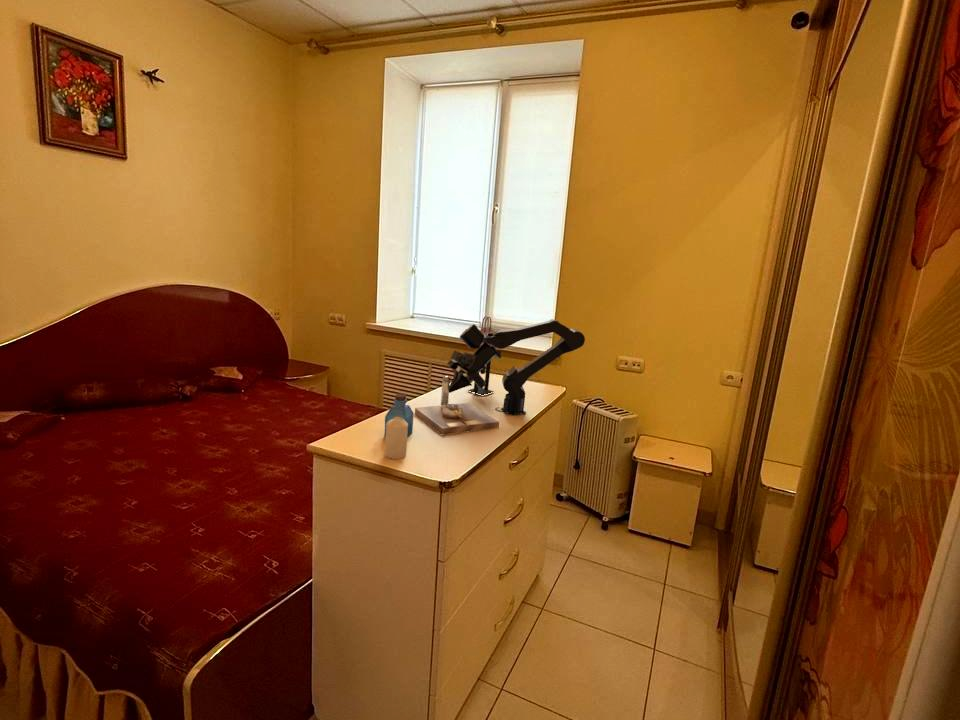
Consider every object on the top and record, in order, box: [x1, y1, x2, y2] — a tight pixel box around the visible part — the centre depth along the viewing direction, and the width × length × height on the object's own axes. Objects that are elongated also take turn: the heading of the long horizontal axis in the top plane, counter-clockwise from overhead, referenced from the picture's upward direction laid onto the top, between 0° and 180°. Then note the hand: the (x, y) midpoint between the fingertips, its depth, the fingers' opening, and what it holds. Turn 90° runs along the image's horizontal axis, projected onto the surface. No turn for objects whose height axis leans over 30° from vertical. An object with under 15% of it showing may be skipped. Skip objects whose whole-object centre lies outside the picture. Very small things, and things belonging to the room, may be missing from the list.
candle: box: [384, 417, 408, 460], centre depth 128 cm, size 6×6×10 cm
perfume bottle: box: [383, 393, 415, 439], centre depth 141 cm, size 6×6×12 cm
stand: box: [414, 402, 500, 436], centre depth 159 cm, size 20×20×2 cm
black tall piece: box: [467, 315, 498, 395], centre depth 190 cm, size 10×8×30 cm
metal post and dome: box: [440, 375, 463, 418], centre depth 157 cm, size 6×18×10 cm, turn 21°
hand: (448, 391), depth 165 cm, fingers closed, pressing on metal post and dome
